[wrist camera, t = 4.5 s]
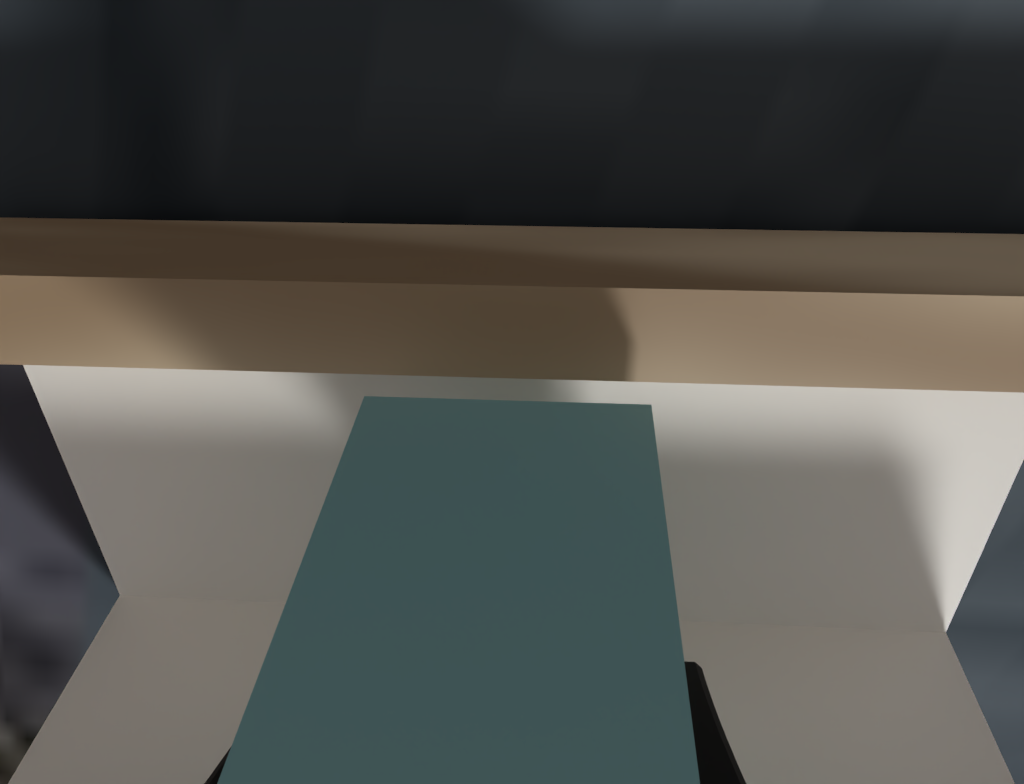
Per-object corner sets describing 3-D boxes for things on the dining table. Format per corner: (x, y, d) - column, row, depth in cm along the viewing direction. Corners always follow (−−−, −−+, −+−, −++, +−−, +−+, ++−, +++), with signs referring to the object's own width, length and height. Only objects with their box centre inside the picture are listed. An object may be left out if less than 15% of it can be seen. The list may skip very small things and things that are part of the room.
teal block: (622, 677, 15) (644, 1110, 10) (401, 666, 15) (313, 1082, 10) (651, 404, 11) (708, 855, 6) (363, 395, 11) (201, 823, 6)
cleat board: (910, 668, 19) (1018, 940, 14) (154, 631, 20) (28, 872, 15) (1102, 219, 13) (1405, 447, 8) (-18, 202, 14) (-319, 393, 9)
